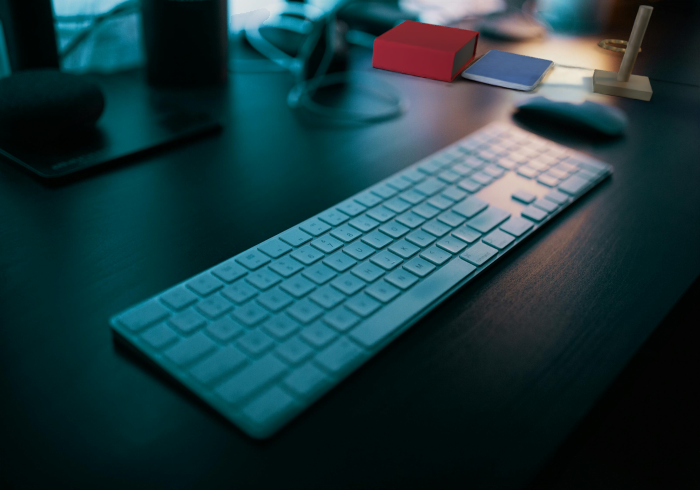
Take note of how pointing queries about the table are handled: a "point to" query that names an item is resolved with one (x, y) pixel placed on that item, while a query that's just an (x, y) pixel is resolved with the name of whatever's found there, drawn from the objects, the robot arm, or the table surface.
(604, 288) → the table surface
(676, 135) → the table surface
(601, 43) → the ring
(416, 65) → the red box
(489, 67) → the tablet
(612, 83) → the stand
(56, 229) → the table surface
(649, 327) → the table surface
